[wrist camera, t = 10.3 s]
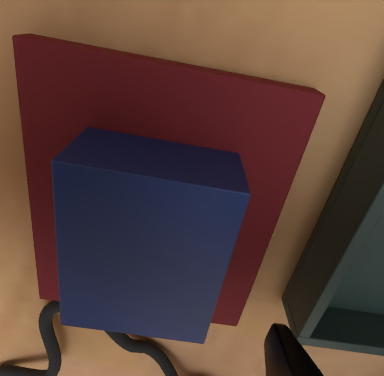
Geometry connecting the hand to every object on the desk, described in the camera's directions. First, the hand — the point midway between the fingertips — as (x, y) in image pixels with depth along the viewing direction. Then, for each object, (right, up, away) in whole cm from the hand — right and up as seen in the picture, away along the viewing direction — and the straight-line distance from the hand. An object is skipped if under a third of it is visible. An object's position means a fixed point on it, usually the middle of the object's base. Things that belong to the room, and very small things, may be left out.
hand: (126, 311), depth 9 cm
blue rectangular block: (0, +2, +4) cm, 5 cm away
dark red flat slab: (0, +3, +5) cm, 6 cm away
